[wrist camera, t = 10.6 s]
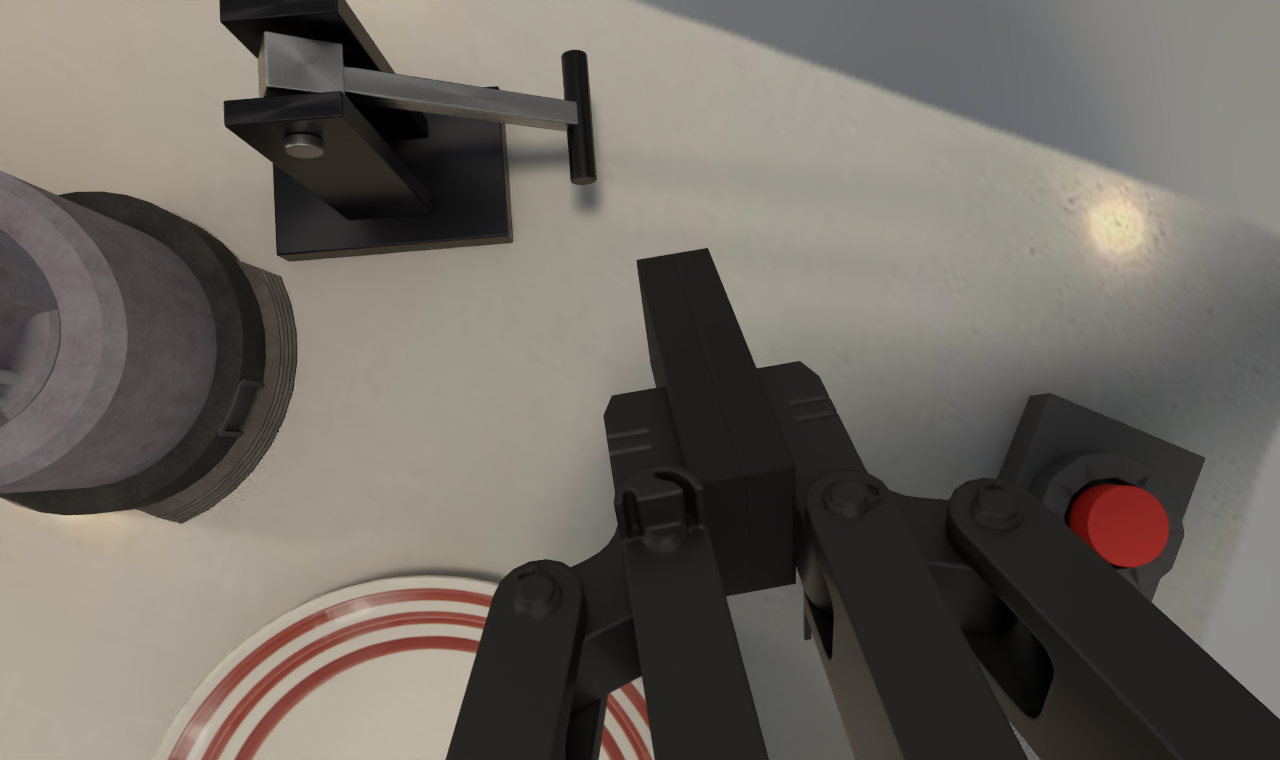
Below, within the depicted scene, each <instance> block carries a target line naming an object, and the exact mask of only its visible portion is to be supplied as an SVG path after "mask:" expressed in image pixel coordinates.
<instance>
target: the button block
mask: <svg viewBox="0 0 1280 760" xmlns="http://www.w3.org/2000/svg"><path fill="white" fill-rule="evenodd" d="M1204 461H1205V458H1204V457H1202V456H1200V455H1197V454H1195V453H1193V452H1190V451H1188V450H1185V449H1183V448H1181V447H1178V446H1176V445H1173V444H1171V443H1169V442H1166V441H1164V440H1161V439H1159V438H1157V437H1154V436H1152V435H1149V434H1147V433H1145V432H1142V431H1140V430H1137V429H1135V428H1133V427H1130V426H1128V425H1126V424H1123V423H1121V422H1118V421H1116V420H1114V419H1111V418H1109V417H1106V416H1104V415H1102V414H1099V413H1097V412H1094V411H1092V410H1090V409H1087V408H1085V407H1082V406H1080V405H1078V404H1075V403H1073V402H1070V401H1068V400H1066V399H1063V398H1061V397H1059V396H1056V395H1054V394H1051V393H1048V394H1041V395H1034V396H1030V398H1029V400H1028V403H1027V405H1026V408H1025V410H1024V413H1023V415H1022V418H1021V420H1020V423H1019V425H1018V428H1017V431H1016V433H1015V436H1014V438H1013V441H1012V443H1011V446H1010V448H1009V451H1008V453H1007V456H1006V458H1005V461H1004V463H1003V466H1002V469H1001V471H1000V474H999V476H998V479H1002V480H1005V481H1008V482H1011V483H1014V484H1017V485H1019V486H1021V487H1022V488H1024V489H1025V490H1027V491H1028V492H1030V493H1031V494H1033V495H1034V496H1035V497H1036V498H1038V499H1039V500H1040V501H1041V502H1042V503H1043V504H1044V505H1045V506H1046V507H1047V508H1048V509H1050V510H1051V511H1052V512H1053V513H1054V514H1055V515H1056V516H1057V517H1058V518H1059V519H1061V520H1062V521H1063V522H1064V523H1065V524H1066V525H1067V526H1068V527H1069V516H1070V511H1071V508H1072V506H1073V504H1074V502H1075V500H1076V499H1077V498H1078V497H1079V496H1080V495H1081V494H1082V493H1083V492H1084V491H1086V490H1087V489H1089V488H1091V487H1093V486H1096V485H1101V484H1112V485H1126V486H1134V487H1138V488H1141V489H1143V490H1145V491H1147V492H1149V493H1150V494H1152V495H1153V496H1154V497H1155V498H1156V499H1157V500H1158V501H1159V502H1160V503H1161V505H1162V506H1163V508H1164V510H1165V512H1166V514H1167V517H1168V522H1169V535H1168V540H1167V543H1166V545H1165V547H1164V549H1163V550H1162V552H1161V553H1160V554H1159V556H1157V557H1156V558H1155V559H1154V560H1152V561H1151V562H1149V563H1147V564H1145V565H1142V566H1139V567H1130V568H1129V567H1121V566H1117V565H1113V564H1110V565H1111V566H1112V567H1113V568H1114V569H1115V570H1117V571H1118V572H1119V573H1120V574H1121V575H1122V576H1123V577H1124V578H1125V579H1126V580H1127V581H1129V582H1130V583H1131V584H1132V585H1133V586H1134V587H1135V588H1136V589H1137V590H1138V591H1140V592H1141V593H1142V594H1143V595H1144V596H1145V597H1146V598H1147V599H1148V600H1149V601H1151V602H1152V599H1153V596H1154V594H1155V591H1156V588H1157V586H1158V583H1159V580H1160V578H1161V577H1162V576H1164V575H1165V574H1166V573H1168V572H1169V571H1170V569H1172V566H1173V564H1174V561H1175V558H1176V556H1177V553H1178V550H1179V548H1180V545H1181V542H1182V540H1183V537H1184V535H1183V534H1184V529H1183V524H1182V519H1183V517H1184V514H1185V511H1186V509H1187V506H1188V503H1189V501H1190V498H1191V495H1192V493H1193V490H1194V487H1195V485H1196V482H1197V479H1198V477H1199V474H1200V471H1201V469H1202V466H1203V463H1204ZM1069 528H1070V527H1069Z"/></svg>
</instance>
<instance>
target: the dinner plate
mask: <svg viewBox="0 0 1280 760" xmlns="http://www.w3.org/2000/svg"><path fill="white" fill-rule="evenodd" d="M498 585H499V584H498V583H494V582H490V581H483V580H479V579H473V578H468V577H457V576H444V575H417V576H402V577H392V578H386V579H378V580H373V581H368V582H364V583H360V584H356V585H353V586H349V587H346V588H342V589H339V590H336V591H333V592H330V593H328V594H325V595H322V596H320V597H317V598H315V599H313V600H310V601H308V602H306V603H304V604H302V605H300V606H298V607H296V608H294V609H292V610H290V611H288V612H286V613H284V614H283V615H281V616H279V617H278V618H276V619H275V620H273V621H271V622H270V623H268V624H267V625H265V626H264V627H262V628H261V629H259V630H258V631H257V632H255V633H254V634H253V635H251V636H250V637H248V638H247V639H246V640H245V641H243V642H242V643H241V644H240V645H239V646H237V647H236V648H235V649H234V650H233V651H231V652H230V653H229V654H228V655H227V656H226V657H225V658H224V659H223V660H222V661H221V662H220V663H219V664H218V665H217V666H216V667H215V668H214V669H213V670H212V671H211V672H210V673H209V674H208V675H207V676H206V677H205V679H204V680H203V681H202V682H201V683H200V684H199V686H198V687H197V688H196V689H195V691H194V692H193V693H192V694H191V696H190V697H189V698H188V700H187V701H186V702H185V704H184V705H183V706H182V708H181V709H180V711H179V712H178V714H177V715H176V717H175V718H174V720H173V722H172V723H171V725H170V727H169V729H168V730H167V732H166V734H165V735H164V737H163V739H162V741H161V743H160V745H159V747H158V749H157V751H156V753H155V755H154V757H153V759H152V760H445V759H446V756H447V753H448V749H449V746H450V742H451V739H452V735H453V732H454V728H455V725H456V722H457V718H458V715H459V711H460V708H461V704H462V701H463V698H464V694H465V691H466V687H467V684H468V680H469V677H470V673H471V670H472V667H473V663H474V660H475V656H476V653H477V649H478V646H479V642H480V639H481V636H482V632H483V629H484V625H485V622H486V618H487V615H488V612H489V608H490V605H491V601H492V598H493V595H494V593H495V591H496V589H497V587H498ZM599 760H655V759H654V753H653V746H652V740H651V733H650V727H649V720H648V714H647V707H646V700H645V694H644V687H643V681H642V676H641V677H639V678H637V679H635V680H634V681H632V682H630V683H628V684H626V685H624V686H622V687H621V688H619V689H617V690H615V691H613V692H611V693H609V694H608V700H607V707H606V714H605V721H604V728H603V735H602V741H601V748H600V755H599Z"/></svg>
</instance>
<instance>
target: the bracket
mask: <svg viewBox="0 0 1280 760" xmlns="http://www.w3.org/2000/svg"><path fill="white" fill-rule="evenodd" d="M220 21H221V23H222V24H223V25H224V26H225V27H226V28H227V29H228V30H229V31H230V32H231V33H232V34H233V35H234V36H235V37H236V38H237V39H238V40H239V41H240V42H241V43H242V44H243V45H244V46H245V47H246V48H247V49H248V50H249V51H250V52H251V53H252V54H253V55H254V56H255V57H256V58H257V59H258V57H259V52H260V48H261V43H262V38H263V34H264V31H270V32H276V33H282V34H288V35H294V36H300V37H306V38H312V39H318V40H324V41H330V42H336V43H341V44H342V46H343V65H344V66H348V67H354V68H361V69H367V70H374V71H380V72H386V73H393V74H395V72H394V71H393V69H392V68H391V66H390V65H389V64H388V62H387V61H386V59H385V58H384V56H383V55H382V53H381V52H380V50H379V49H378V47H377V46H376V45H375V43H374V42H373V40H372V39H371V37H370V36H369V34H368V33H367V31H366V30H365V28H364V27H363V26H362V24H361V23H360V21H359V20H358V18H357V17H356V15H355V14H354V12H353V11H352V9H351V8H350V7H349V5H348V4H347V2H346V1H345V0H220ZM483 88H490V89H496V90H499V87H497V86H495V87H483ZM224 124H225V127H227V128H228V129H229V130H231V131H232V132H233V133H234V134H236V135H237V136H238V137H240V138H241V139H242V140H244V141H245V142H246V143H248V144H249V145H250V146H252V147H253V148H254V149H256V150H257V151H258V152H259V153H261V154H262V155H263V156H265V157H266V158H267V159H269V160H270V161H271V162H273V178H274V201H275V223H276V246H277V255H278V256H280V257H282V258H284V259H286V260H287V261H296V260H308V259H320V258H332V257H343V256H355V255H367V254H379V253H391V252H403V251H414V250H426V249H438V248H450V247H462V246H473V245H485V244H497V243H509V242H512V241H513V235H512V221H511V206H510V192H509V177H508V163H507V148H506V134H505V123H500V122H492V121H485V120H477V119H470V118H463V117H455V116H448V115H440V114H433V113H425V112H418V111H411V110H403V109H396V108H388V107H381V106H374V105H366V104H359V103H351V101H350V100H349V99H348V98H347V97H346V96H345V95H344V93H343V92H342V91H333V92H322V93H310V94H298V95H287V96H275V97H264V98H252V99H241V100H229V101H224Z"/></svg>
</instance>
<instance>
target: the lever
mask: <svg viewBox="0 0 1280 760" xmlns="http://www.w3.org/2000/svg"><path fill="white" fill-rule="evenodd" d="M561 60H562V73H563V86H564V99H565V100H560V99H554V98H547V97H541V96H535V95H528V94H522V93H515V92H509V91H502V90H496V89H490V88H483V87H477V86H470V85H464V84H457V83H451V82H444V81H438V80H432V79H425V78H419V77H412V76H406V75H399V74H393V73H386V72H380V71H374V70H367V69H361V68H354V67H348V66H344V65H343V46H342V44H341V43H336V42H330V41H324V40H318V39H312V38H306V37H300V36H294V35H288V34H282V33H276V32H270V31H264V34H263V38H262V43H261V48H260V52H259V57H258V75H259V98H264V97H275V96H287V95H298V94H310V93H322V92H333V91H342V92H343V93H344V95H345V96H346V97H347V98H348V99H349V100H350V101H351V103H359V104H366V105H374V106H381V107H388V108H396V109H403V110H411V111H418V112H425V113H433V114H440V115H448V116H455V117H463V118H470V119H477V120H485V121H492V122H500V123H507V124H515V125H522V126H529V127H537V128H544V129H552V130H559V131H566V132H567V139H568V152H569V165H570V178H571V182H572V183H573V184H577V185H587V184H592V183H594V182H596V180H597V175H596V162H595V150H594V137H593V124H592V112H591V99H590V86H589V74H588V61H587V54H586V53H585V52H583V51H580V50H570V51H567V52H565V53H563V54H562V56H561Z"/></svg>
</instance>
